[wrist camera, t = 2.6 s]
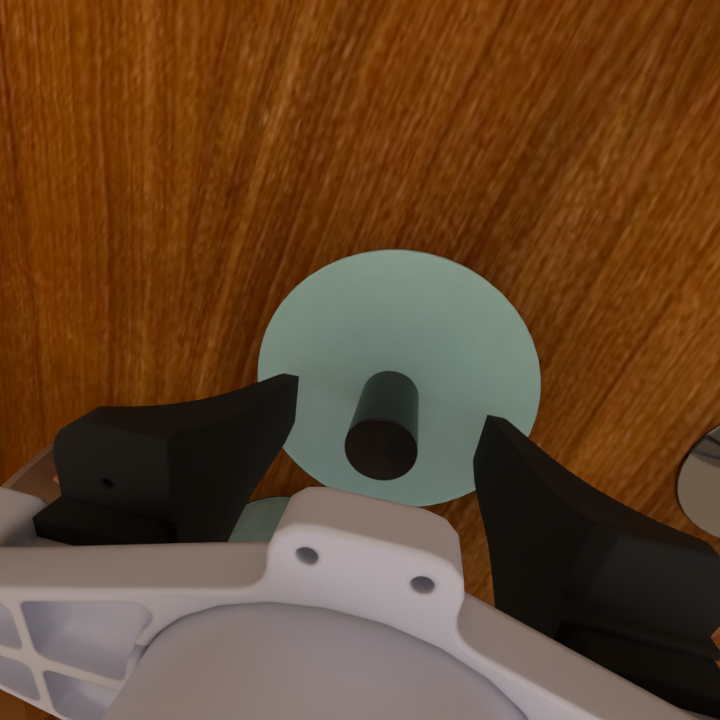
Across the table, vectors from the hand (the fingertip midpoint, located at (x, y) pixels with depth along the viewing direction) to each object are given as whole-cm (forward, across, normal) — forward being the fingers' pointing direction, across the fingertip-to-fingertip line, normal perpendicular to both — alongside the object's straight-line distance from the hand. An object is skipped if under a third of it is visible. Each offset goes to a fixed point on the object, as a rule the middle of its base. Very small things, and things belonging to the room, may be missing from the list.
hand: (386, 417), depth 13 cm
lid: (+2, 0, 0) cm, 2 cm away
